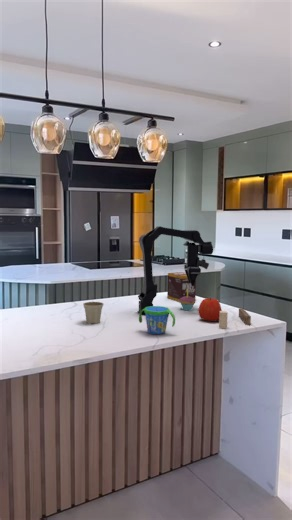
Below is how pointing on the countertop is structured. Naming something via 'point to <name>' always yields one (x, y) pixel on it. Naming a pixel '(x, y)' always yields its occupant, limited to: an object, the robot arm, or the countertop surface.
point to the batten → (245, 316)
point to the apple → (209, 309)
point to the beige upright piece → (222, 319)
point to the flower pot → (93, 311)
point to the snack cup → (156, 318)
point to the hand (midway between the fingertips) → (191, 284)
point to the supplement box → (179, 286)
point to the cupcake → (187, 302)
